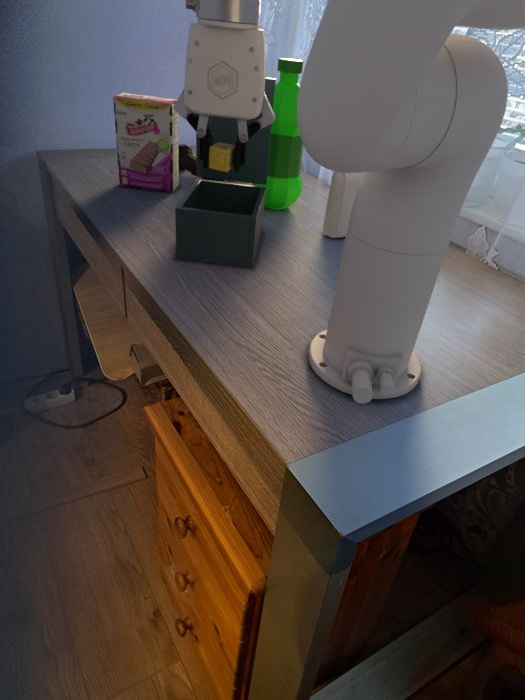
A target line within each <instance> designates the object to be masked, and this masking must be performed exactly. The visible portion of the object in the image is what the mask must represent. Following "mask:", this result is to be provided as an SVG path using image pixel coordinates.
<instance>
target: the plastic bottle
mask: <svg viewBox="0 0 525 700" xmlns="http://www.w3.org/2000/svg"><path fill="white" fill-rule="evenodd" d="M276 70H277V71H278V72H279V80H278V82H276V83H275V94H274V106H273V112H274V115H275V121H274V122H273V123H272V129H271V140H270V151H269V163H268V174H267V184H266V185H262V184H254V183H251V185H253V186H261V187H266V195H265V205H264V208H267V209H270V210H279V211H282V210H286V209H288V208H289V207H290V206H292V205H293V204H295V203H296V202H297V201H298V199H299V197H300V196H301V193H302V191H303V187H304V182H303V179H302V176H301V173H300V172H301V166H302V158H303V150H304V145H303V143H302V140H301V137H300V134H299V129H298V120H297V104H298V95H299V89H300V84H299V75H301V74H303V71H304V60H303V59H297V58H290V57H289V58H288V57H278V59H277V69H276Z"/></svg>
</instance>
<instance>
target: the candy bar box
mask: <svg viewBox="0 0 525 700" xmlns="http://www.w3.org/2000/svg"><path fill="white" fill-rule="evenodd" d="M112 100H113V101H112V102H113V114H114V128H115V139H116V153H117V166H118V178H119V179H118V180H119V186H120V187H121V186H122V187H130V188H136V189H143V190H144V189H145V190H151V191H152V190H153V191H159V192H167V193H174V192H175V191H176V189H177V188H178V187H179V185H180V173H179V172H180V171H179V148H178V145H180V144H179V143H180V142H179V114H178V113H177V112H176V111H175V110H174V105H175V103H176V101H177V100H178V99H176V98H175V99H174V98H169V97H168V98H167V97H160V96H154V95H153V96H152V95H146V94H145V95H144V94H137V93H129V92H120V93H117V94H115V95H113V97H112Z"/></svg>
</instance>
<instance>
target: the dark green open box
mask: <svg viewBox="0 0 525 700" xmlns="http://www.w3.org/2000/svg"><path fill="white" fill-rule="evenodd" d="M265 195H266V187H261V186H253V185H252V184H244V183H236V182H235V183H234V182H228V181H225V182H219V181H211V180H204V179H203V178H196V179H195V181H194V182H193V184H192V185H191V186H190V188H189V189H188V190H187V192H186V193H185V195H184V196H183V197H182V198H181V200H179V202H178V204H176V207H175V209H174V217H175V218H174V221H175V224H174V225H175V260H182V261H183V260H185V261H191V262H199V263H208V264H216V265H222V266H223V265H224V266H232V267H239V268H246V269H253V267H254V263H255V259H256V255H257V252H258V248H259V245H260V242H261V237H262V233H263V226H264V215H265V206H264V205H265Z"/></svg>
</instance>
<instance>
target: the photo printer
mask: <svg viewBox="0 0 525 700" xmlns="http://www.w3.org/2000/svg"><path fill="white" fill-rule="evenodd" d="M366 173H367V172H362V173H342V172H336V171H333V173H332V176H331V179H330V185H329V192H328V197H327V202H326V208H325V213H324V218H323V225H322V231H323V234H324V235H325V236H327V237H329V238H332V239H335V238H336V239H337V238H344V237H345V238H346V233H347V228H348V223H349V218H350V213H351V209H352V205H353V202H354V199H355V196H356V194H357V191H358V189H359V186H360V184H361V182H362V180H363V178H364V176H365V175H366Z"/></svg>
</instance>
